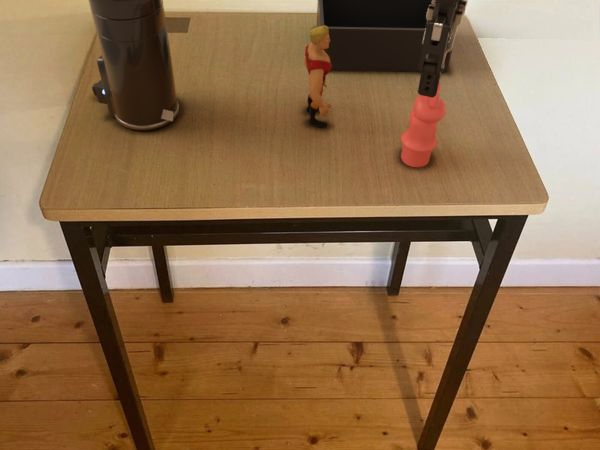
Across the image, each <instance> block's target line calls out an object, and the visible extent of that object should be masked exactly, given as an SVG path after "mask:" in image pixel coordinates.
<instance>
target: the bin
mask: <svg viewBox="0 0 600 450" xmlns="http://www.w3.org/2000/svg"><path fill="white" fill-rule="evenodd" d="M431 2H432V0H317V5H316V6H317V7H316V27H320V26H324V25H325V26H327V27H328V30H329V38H330V42H329V47H328V48H327V49H323V50H325V52H326V53H327V54H328V56H329V57H330V59H331V60H330V63H331V64H332V67H331V70H330V71H338V72H340V71H341V72H343V71H344V72H347V71H348V72H399V73H401V72H403V73H405V72H407V73H408V72H409V73H410V72H411V73H421V72H420V71H418V69H419V68H418V64H419V63H420V58H421V53H422V47H423V44H422V40H423V36H424V32H425V25H426V23H427V19H426V15H427V10H428V7H429V5H431ZM452 53H453V49H452V50H451V52H450V56H449V59H448V60H447V61H444V64H445V66H444V69H443V70H442V72H441V73H448V70H449V65H450V60H451V56H452ZM428 58H430V59H434V58H432V54H429V55H428ZM435 60H438V59H435Z"/></svg>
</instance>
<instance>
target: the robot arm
mask: <svg viewBox="0 0 600 450" xmlns="http://www.w3.org/2000/svg"><path fill="white" fill-rule="evenodd" d="M88 4H89V8H90V10H91V17H92V20H93V24H94V28H95V33H96V37H97V41H98V45H99V50H100V56H98V57H97V59H96V64H97V68H98V72H99V76H100V80H99V81H98V82H95V83H93V85H92V86H91V90H92V93H93V95H94V96H95V97H96V98H97V102H98V103H99V104H104V105H107V110H108V114H109V117H111V118H114V119H115V120H116V121H117V122H118V124H119V125H121V126H123V127H124V128H126V129H129V130H134V131H153V130H157V129H160V128H163V127H165V126H167V125H169V124H170V123H172V122H173V121H174V120H175V119H176V118H177V116H178V115H179V113H180V106H179V100H178V97H177V89H176V82H175V81H176V80H175V74H174V68H173V60H172V54H171V47H170V40H169V32H168V27H167V26H168V25H167V19H166V12H165V6H164V0H88ZM467 6H468V0H432V2H431V5H429V7H428V10H427V15H426V19H427V23H426V25H425V32H424V36H423V40H422V44H423V47H422V53H421V58H420V63H419V64H418V68H419V69H418V71H420V72H419V73H420V78H419V83H418V89H417V93H418V95H423V96H427V97H435V96H436V94H437V90H438V85H439V82H440V81H441V80H440V79H441V75H442V73H443V72H442V70H443V69H444V66H445V64H444V61H447V60H448V59H449V56H450V52H451V50H452V51H453V47H454V44H455V39H456V35H457V31H458V29H459V28H460V26H461V25H462V22H463V18H464V15H465V14H466V9H467ZM451 53H452V52H451ZM429 54H432V58H434V59H430V58H428V55H429ZM435 59H438V60H435Z"/></svg>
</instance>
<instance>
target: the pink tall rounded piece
mask: <svg viewBox="0 0 600 450" xmlns="http://www.w3.org/2000/svg"><path fill="white" fill-rule="evenodd" d="M441 86H442V85H441V82H440V81H439V85H438V90H437V94H436V96H435V97H427V96H423V95H420V94H418V96H417V97H416V99H415V100H414V102H413V106H412V109H411V112H410V114H409V117H408V118H409V119H408V127H407V129H405V130H404V131H403V132H402V134H401V135H400V141H401V143H402V148H401V154H400V159H401V162H403V163H404V164H405V165H406V166H409V167H412V168H423V167H425V166H427V165H428V164H429V162H430V158H431V154H432V151H433V150H434V149H435V148H436V147H437V145H438V138H437V136H436V135H437V131H438V122H440V121H442V120H443V119H444V117H445V116H446V113H447V106H446V105H447V104H446V103H445V101H444V100H443V99H442V98H441V97H440V92H441Z"/></svg>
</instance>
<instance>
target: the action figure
mask: <svg viewBox="0 0 600 450" xmlns="http://www.w3.org/2000/svg"><path fill="white" fill-rule="evenodd" d="M309 38H310V41H311V43H308V44H307V45H306V46H305V49H304V57H303V64H304V66H305V68H306V70H307V71H308V82H309V94H308V95H307V107H306V112H307V113H309V119H308V124H309V125H311V126H314V127H319V128H327V127H328V122H326V121H322V120H318V119H317V118H316V116H317V113H318V111H319V112H320V113H319V116H321V117H322V116H325V115H326V116H329V112H330V113H333V110H332V109H331V108H330V107H331V105H332V104H331V102H324V100H323V98H322V96H323V93H324V92H323V91H324V87H325V88H327V87H328V85H327V84H326V83H327V81H326V77H327V75H328V74H330V72H331V71H332V70H331V67H332V64H331V63H330V60H331V59H330V57H329V56H328V54H327V53H326V52H325V50H323V49H327V48H328V47H329V42H330V38H329V30H328V27H327V26H325V25H324V26H320V27H313V28H312V29H311V30H310V31H309Z"/></svg>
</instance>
